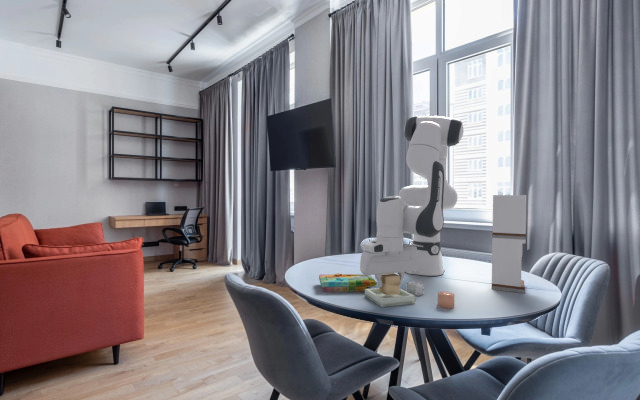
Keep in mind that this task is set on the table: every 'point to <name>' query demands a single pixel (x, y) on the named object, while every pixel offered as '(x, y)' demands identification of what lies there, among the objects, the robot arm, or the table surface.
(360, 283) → the puzzle game
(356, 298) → the table surface
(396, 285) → the oak block
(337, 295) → the table surface
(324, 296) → the table surface
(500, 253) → the striped white tower
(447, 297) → the terracotta puck
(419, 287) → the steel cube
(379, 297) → the sage tray
